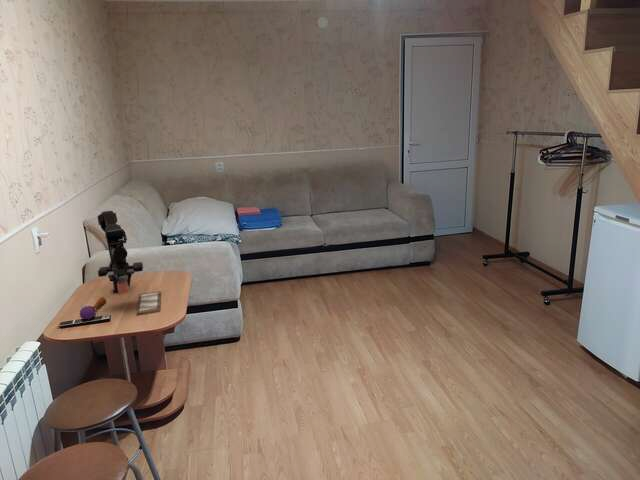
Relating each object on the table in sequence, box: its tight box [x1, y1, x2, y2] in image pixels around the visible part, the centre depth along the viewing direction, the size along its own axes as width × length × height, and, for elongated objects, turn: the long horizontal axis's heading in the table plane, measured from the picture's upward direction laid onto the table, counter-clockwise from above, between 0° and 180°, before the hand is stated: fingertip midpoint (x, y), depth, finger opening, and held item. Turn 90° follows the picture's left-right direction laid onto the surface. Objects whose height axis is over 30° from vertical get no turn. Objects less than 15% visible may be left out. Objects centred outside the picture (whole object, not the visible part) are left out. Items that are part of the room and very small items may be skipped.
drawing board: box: [136, 290, 162, 316], centre depth 220 cm, size 24×10×1 cm, turn 17°
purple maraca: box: [79, 296, 107, 320], centre depth 214 cm, size 6×6×20 cm
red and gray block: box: [117, 275, 130, 295], centre depth 215 cm, size 11×4×4 cm, turn 17°
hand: (124, 286), depth 216 cm, fingers closed on red and gray block, 4 cm apart
